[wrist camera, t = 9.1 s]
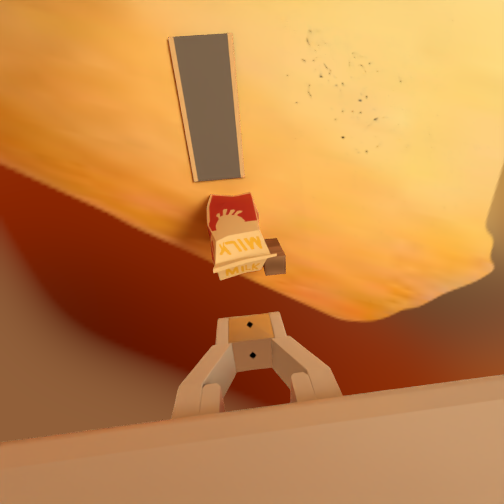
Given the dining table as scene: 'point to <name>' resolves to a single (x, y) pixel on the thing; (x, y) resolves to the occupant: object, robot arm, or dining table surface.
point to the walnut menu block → (275, 258)
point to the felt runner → (209, 104)
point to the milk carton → (235, 235)
